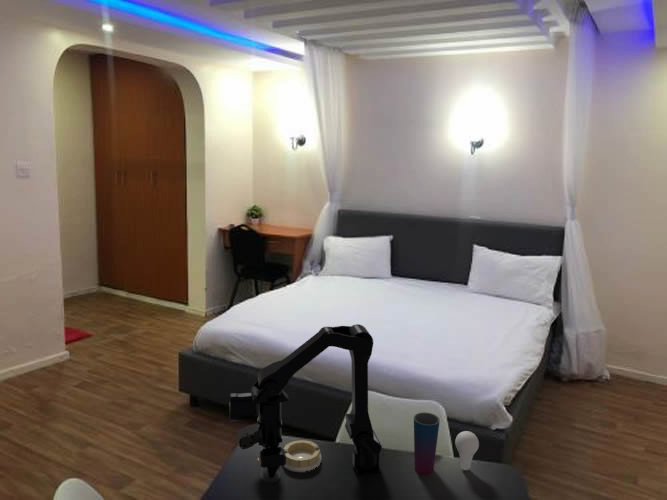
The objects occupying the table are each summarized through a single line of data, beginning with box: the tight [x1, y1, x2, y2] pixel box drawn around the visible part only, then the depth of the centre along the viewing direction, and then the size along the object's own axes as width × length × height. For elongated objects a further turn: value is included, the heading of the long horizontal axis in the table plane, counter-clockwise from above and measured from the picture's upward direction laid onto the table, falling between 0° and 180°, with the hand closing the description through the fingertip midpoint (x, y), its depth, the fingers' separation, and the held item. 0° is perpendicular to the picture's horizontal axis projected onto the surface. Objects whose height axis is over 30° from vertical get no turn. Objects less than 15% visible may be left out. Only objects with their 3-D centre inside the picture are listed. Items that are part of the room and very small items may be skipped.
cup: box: [413, 411, 441, 476], centre depth 149 cm, size 7×7×15 cm
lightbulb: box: [454, 430, 480, 471], centre depth 149 cm, size 6×6×11 cm
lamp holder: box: [282, 439, 322, 473], centre depth 153 cm, size 11×11×4 cm
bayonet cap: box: [257, 447, 281, 484], centre depth 145 cm, size 6×5×7 cm
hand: (270, 471), depth 146 cm, fingers closed on bayonet cap, 5 cm apart
